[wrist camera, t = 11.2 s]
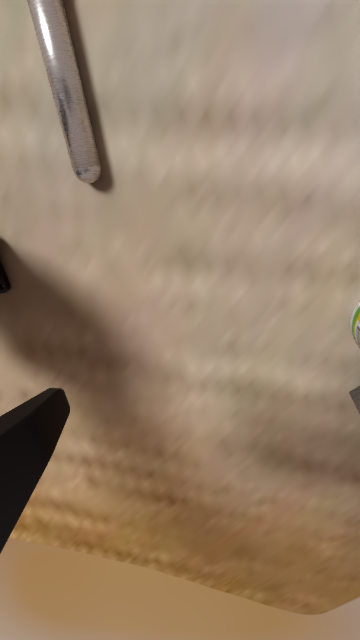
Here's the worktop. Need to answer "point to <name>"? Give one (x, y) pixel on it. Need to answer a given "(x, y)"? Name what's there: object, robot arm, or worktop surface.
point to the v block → (356, 397)
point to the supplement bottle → (356, 323)
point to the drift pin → (66, 86)
